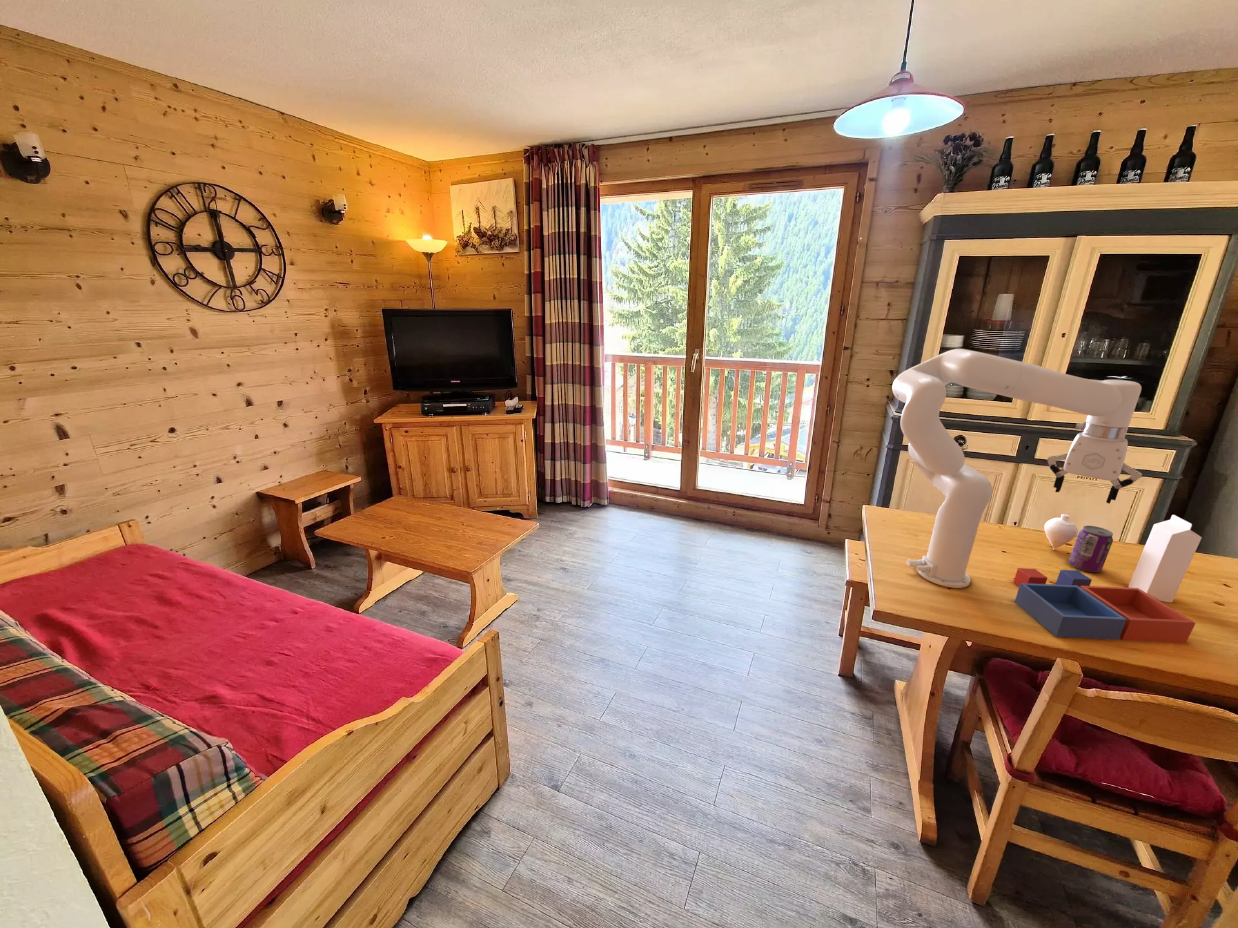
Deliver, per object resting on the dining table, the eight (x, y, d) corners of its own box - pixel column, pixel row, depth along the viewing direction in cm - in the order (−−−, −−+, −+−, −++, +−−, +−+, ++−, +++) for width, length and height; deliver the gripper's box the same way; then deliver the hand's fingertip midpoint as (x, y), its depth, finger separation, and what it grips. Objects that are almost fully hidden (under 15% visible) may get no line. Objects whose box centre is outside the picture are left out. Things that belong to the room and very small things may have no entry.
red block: (1025, 591, 128) (1029, 577, 127) (1013, 582, 133) (1017, 567, 131) (1042, 592, 128) (1047, 577, 127) (1030, 582, 132) (1035, 568, 131)
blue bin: (1055, 636, 111) (1063, 616, 109) (1014, 601, 124) (1020, 582, 122) (1118, 639, 110) (1127, 619, 109) (1070, 604, 123) (1077, 585, 121)
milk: (1144, 599, 126) (1176, 523, 118) (1127, 586, 131) (1157, 512, 124) (1173, 602, 124) (1207, 525, 117) (1154, 589, 130) (1186, 515, 122)
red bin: (1122, 640, 110) (1131, 619, 109) (1073, 604, 123) (1080, 585, 121) (1186, 643, 110) (1195, 622, 108) (1130, 606, 122) (1138, 587, 121)
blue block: (1068, 593, 128) (1074, 578, 126) (1055, 583, 132) (1060, 569, 130) (1086, 594, 127) (1092, 579, 126) (1072, 584, 132) (1077, 570, 130)
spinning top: (1032, 547, 151) (1043, 512, 147) (1045, 542, 155) (1057, 508, 151) (1061, 558, 145) (1074, 522, 141) (1075, 553, 148) (1088, 517, 144)
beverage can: (1107, 575, 136) (1122, 537, 132) (1078, 572, 138) (1092, 534, 134) (1089, 562, 143) (1103, 526, 139) (1062, 559, 144) (1074, 523, 140)
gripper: (1055, 427, 121) (1036, 490, 127) (1154, 441, 109) (1128, 510, 115) (1060, 422, 126) (1041, 483, 132) (1156, 435, 114) (1131, 502, 120)
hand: (1082, 496), depth 123 cm, fingers open, 9 cm apart
